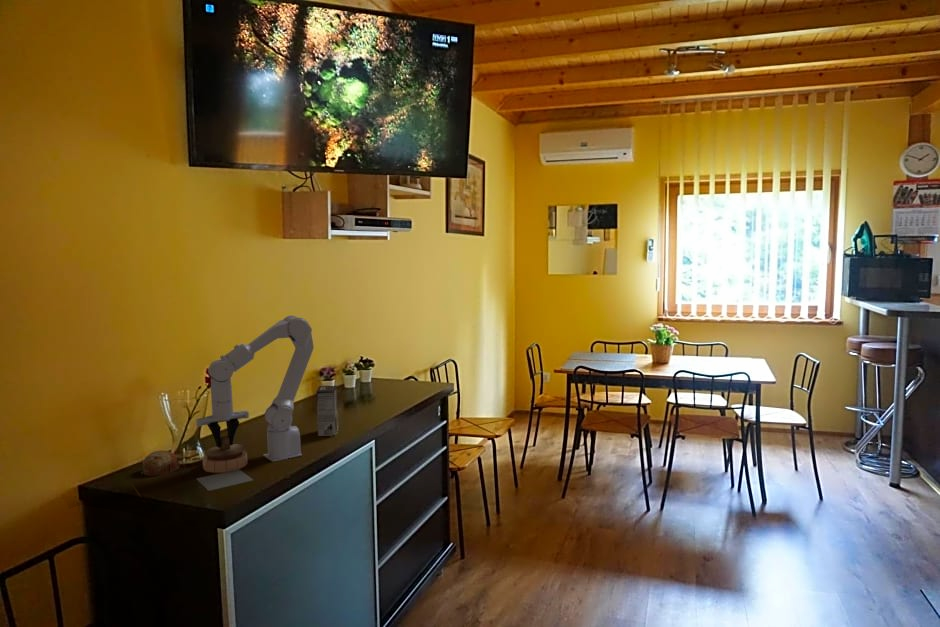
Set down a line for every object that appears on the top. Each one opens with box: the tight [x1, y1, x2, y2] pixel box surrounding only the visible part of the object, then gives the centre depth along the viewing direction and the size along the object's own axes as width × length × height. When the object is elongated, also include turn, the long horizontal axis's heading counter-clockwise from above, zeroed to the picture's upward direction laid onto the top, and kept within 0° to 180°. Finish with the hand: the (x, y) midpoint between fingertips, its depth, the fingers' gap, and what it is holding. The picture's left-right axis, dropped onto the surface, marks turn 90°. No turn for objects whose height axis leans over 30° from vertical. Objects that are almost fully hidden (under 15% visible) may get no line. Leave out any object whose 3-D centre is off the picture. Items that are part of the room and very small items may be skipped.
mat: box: [195, 468, 254, 492], centre depth 175 cm, size 12×12×1 cm
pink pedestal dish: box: [204, 435, 246, 457], centre depth 186 cm, size 11×11×4 cm
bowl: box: [202, 449, 248, 474], centre depth 187 cm, size 12×12×4 cm
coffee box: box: [316, 385, 339, 436], centre depth 220 cm, size 9×6×16 cm
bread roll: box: [140, 449, 181, 477], centre depth 184 cm, size 10×10×8 cm
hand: (224, 445), depth 187 cm, fingers closed on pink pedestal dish, 3 cm apart
